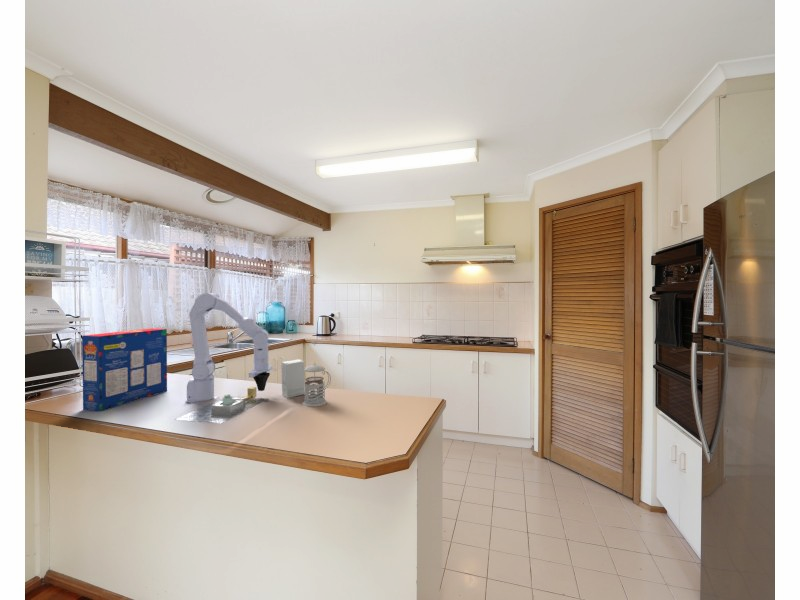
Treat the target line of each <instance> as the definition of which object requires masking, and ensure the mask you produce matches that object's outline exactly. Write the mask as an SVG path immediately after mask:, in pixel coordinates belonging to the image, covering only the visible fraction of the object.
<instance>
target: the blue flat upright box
mask: <svg viewBox="0 0 800 600" xmlns="http://www.w3.org/2000/svg"><path fill="white" fill-rule="evenodd" d="M167 333H168V330H167V328H152V327H151V328H143V329H134V330H123V331H115V332H113V331H112V332H105V333H104V332H103V333H95V334H94V333H93V334H85V335H81V336H82V338H81V340H82V343H81V345H82V347H81V348H82V352H81V353H82V355H81V356H82V410H83V411H89V412H91V411H92V412H98V413H99V412H103V411H106V410H110V409H113V408H116V407H119V406H122V405H125V404H126V405H127V404H129V403H133V402H135V401H140V400H142V399H145V398H149V397H152V396H155V395H159V394H162V393H165V392H168V348H167V347H168V345H167V344H168V336H167V335H168V334H167Z"/></svg>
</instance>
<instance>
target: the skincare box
mask: <svg viewBox="0 0 800 600" xmlns="http://www.w3.org/2000/svg"><path fill="white" fill-rule="evenodd" d="M304 369H305V361H303V359H299V358H298V359H292V360H286V361H281V395H282V396H283V397H285V398H286V399H289V398H294V397H298V396H303V395H305V370H304Z"/></svg>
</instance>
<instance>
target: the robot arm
mask: <svg viewBox="0 0 800 600" xmlns="http://www.w3.org/2000/svg"><path fill="white" fill-rule="evenodd" d="M211 310H216V311H222V312H223V313H225V314H226V315H227V316H228V317H230V318H231V319H232V320H233V321H235V322H236V323H237V324H238V329H239V330H241V331H242V332H243V333H244V334H246V335H247V336H248V337H250V338H252V342H253V343H254V344H253V345H254V346H253V370H251V371H249V372H248V378H252V379H254V381H255V383H256V389H257V390H258V391H257V392H263V391H265V389H266V385H267V383H268V382H267V381H268V379H269V377H270V375H271V372H270V371H273V366H274V365H269V341H268V340H269V339H270V338H269V337H270V335H269V332H268V331H267V330H266V329H264V328H263V326H260V325H258V324H257V323H256V322H255V319H254V318H250V317H249V316H248V317H244V316H243V315H242V314H241V313H240V312H239V311H238V310H237V309H236V308H235V307H233V306H232V304H230V303H229V302H228V301H227V300H226V299H224V298H223V297H221V296H220V295H219V294H218V293H215V292H210V293H209V292H204V293H203V292H202V293H200V295H198V296H197V297H196V298H195V299H194V303H193V305H192V307H191V309H190V311H189V314H188V315H189V321H190V327H191V328H190V329H191V337H192V343H193V344H192V345H193V351H194V359H193V366H192V367H193V368H192V370H191V376H192V377H193V378H191V379H189V380H188V382H187V385H186V400H184V402H185V403H195V402H200V401H201V402H202V401H203V402H204V401H209V400H212V399H217V400H218V399H219V398H220V397H219V396H215V375H214V374H213V373H215V370H216V364H215V362H213V359H212V357H213V356H212V355H211V354H210V350H209V349H210V348H209V342H208V334H207V327H206V326H207V325H206V319H205V317H206V315H207V314H208V313H209V312H210V311H211Z"/></svg>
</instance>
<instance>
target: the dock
mask: <svg viewBox="0 0 800 600" xmlns="http://www.w3.org/2000/svg"><path fill="white" fill-rule="evenodd" d="M262 402H263V403H264V402H265V403H267V402H268V398H259V397H255V398H253V399H250V400H248V401H246V402H245V398H244V396H243V397H242V396H232V404H231V405H223V400H222V398H221V399H219V400H218V399H217V401H214V402H211V403H209V404H208V405H205V406H202V407H200V408H197V409H195V410H193V411H191V412H188V413H186V414H184V415H182V416H179V417H176V418H175V419H174V421H175V420H176V421H186V422H187V421H188V422H199V423H212V424H223V423H225V422H227V421H229V420H230V419H233V418H235V417H237V416H238V415H240V414H242V413H244V412H246V411H248V410H249V409H252V408H253V407H255V406H257V405H259V404H261V403H262Z"/></svg>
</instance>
